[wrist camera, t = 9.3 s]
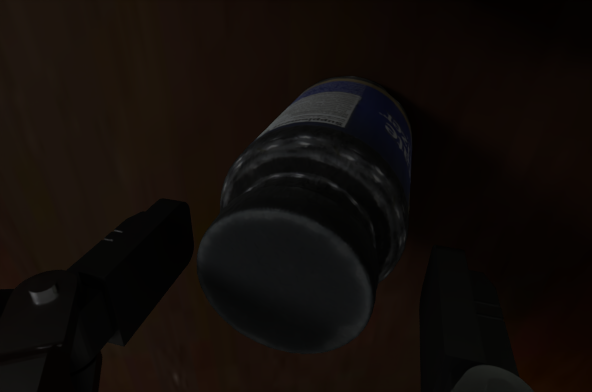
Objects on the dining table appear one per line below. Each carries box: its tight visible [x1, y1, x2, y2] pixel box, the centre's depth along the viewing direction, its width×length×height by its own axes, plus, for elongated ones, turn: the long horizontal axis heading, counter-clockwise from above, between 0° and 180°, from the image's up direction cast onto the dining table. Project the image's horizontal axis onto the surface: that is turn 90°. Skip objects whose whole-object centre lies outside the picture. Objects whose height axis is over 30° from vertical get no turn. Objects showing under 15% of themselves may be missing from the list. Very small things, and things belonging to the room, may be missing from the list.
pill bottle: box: [197, 76, 412, 354], centre depth 14 cm, size 6×6×11 cm
